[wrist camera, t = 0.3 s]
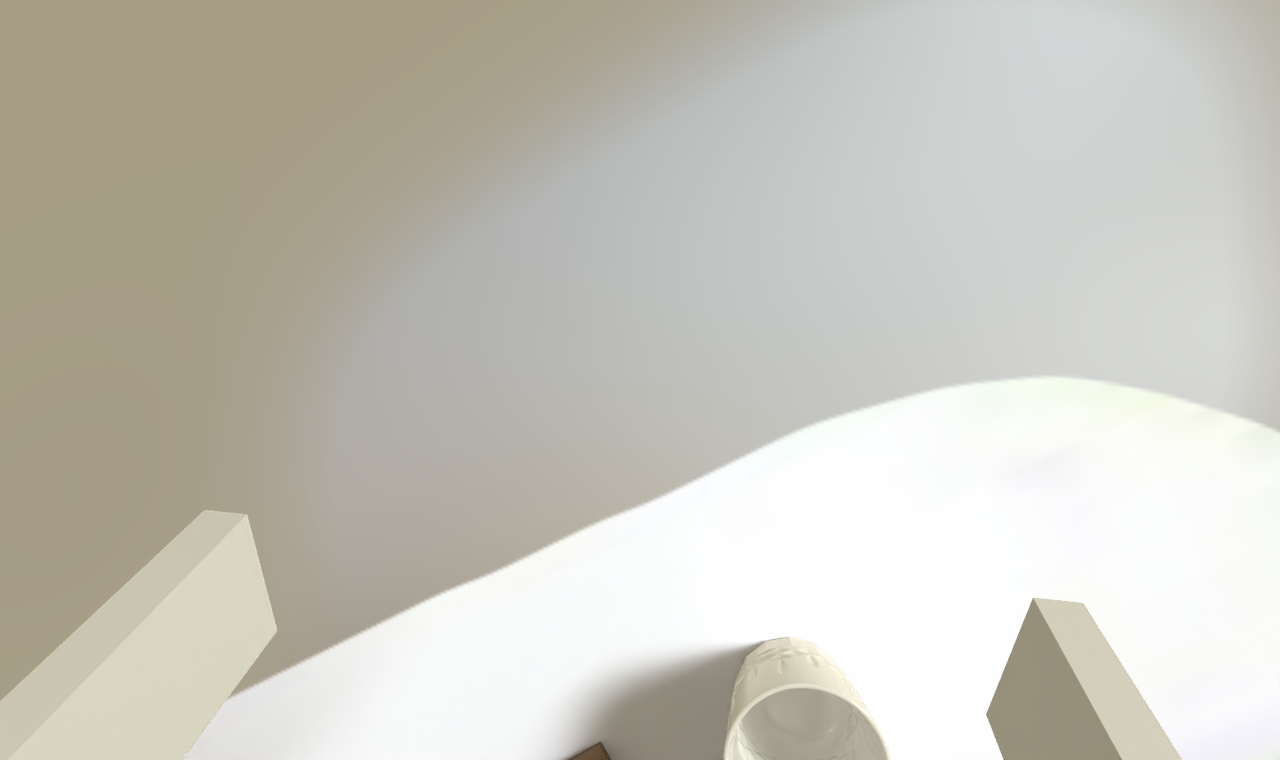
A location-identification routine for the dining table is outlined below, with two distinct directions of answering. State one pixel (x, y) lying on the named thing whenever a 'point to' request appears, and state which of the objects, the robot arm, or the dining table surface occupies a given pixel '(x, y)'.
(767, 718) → the white cup
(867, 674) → the dining table surface
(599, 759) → the pin board
